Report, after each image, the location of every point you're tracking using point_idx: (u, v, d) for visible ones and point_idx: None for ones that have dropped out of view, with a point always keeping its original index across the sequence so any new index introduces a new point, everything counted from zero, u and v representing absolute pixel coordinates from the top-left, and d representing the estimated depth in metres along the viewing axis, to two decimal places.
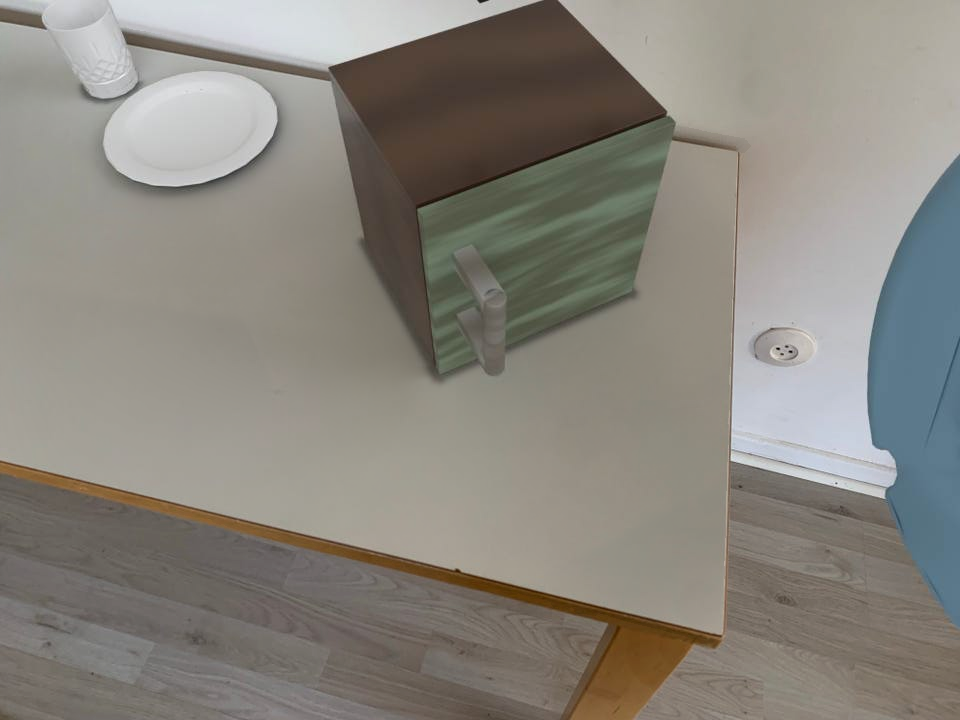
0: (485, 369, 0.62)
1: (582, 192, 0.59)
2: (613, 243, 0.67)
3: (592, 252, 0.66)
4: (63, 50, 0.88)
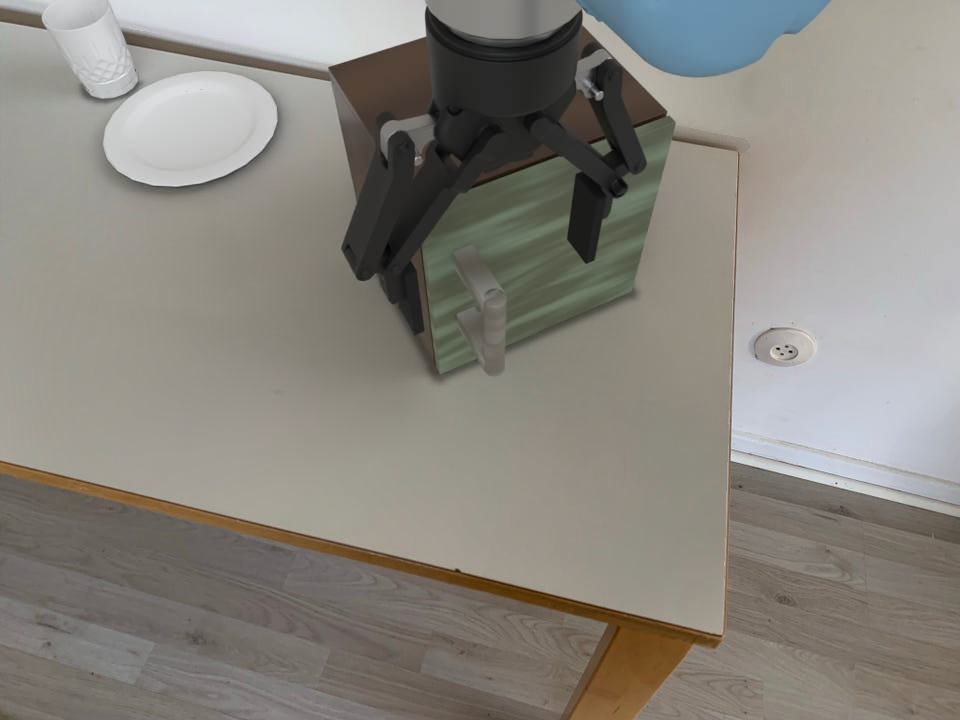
0: (485, 369, 0.62)
1: None
2: (613, 243, 0.67)
3: None
4: (63, 50, 0.88)
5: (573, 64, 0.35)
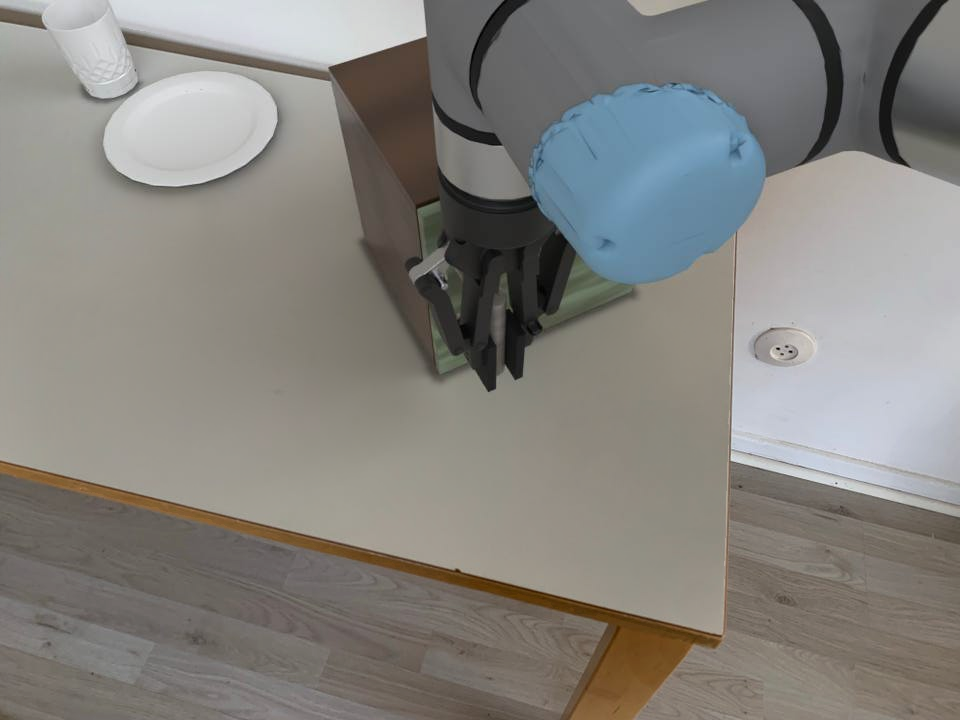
0: None
1: None
2: None
3: None
4: (63, 50, 0.88)
5: None
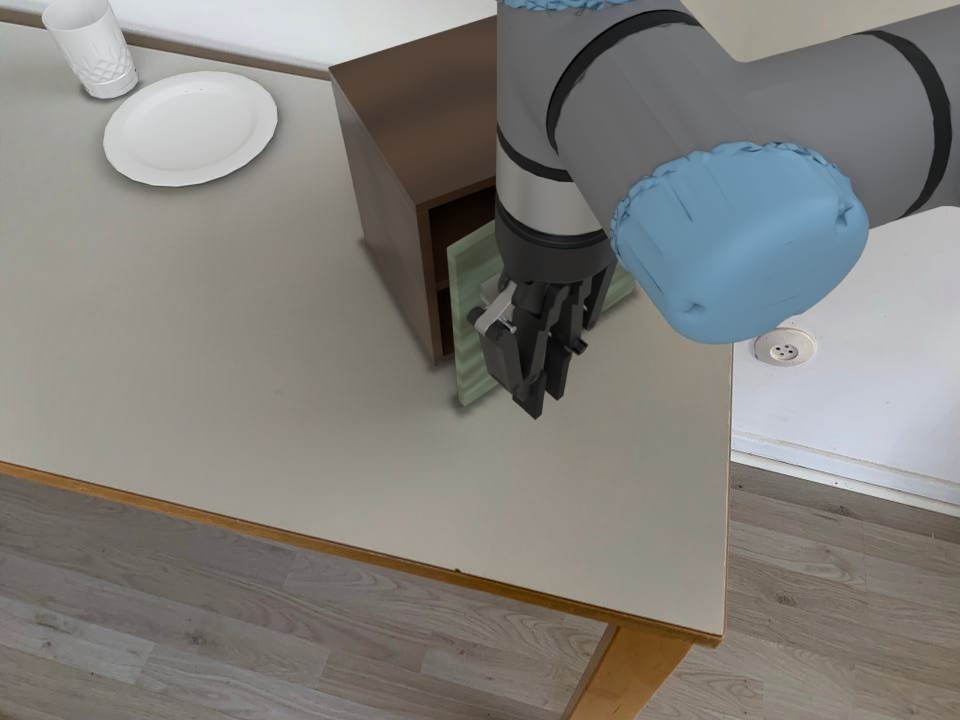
0: None
1: None
2: None
3: None
4: (63, 50, 0.88)
5: None
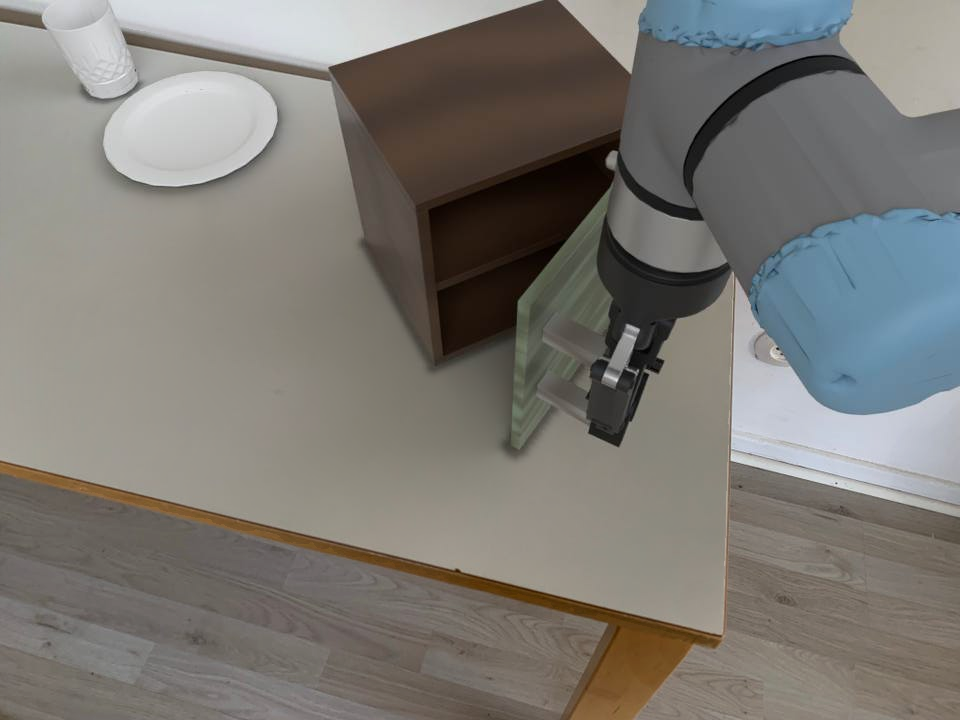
0: None
1: None
2: None
3: None
4: (63, 50, 0.88)
5: None
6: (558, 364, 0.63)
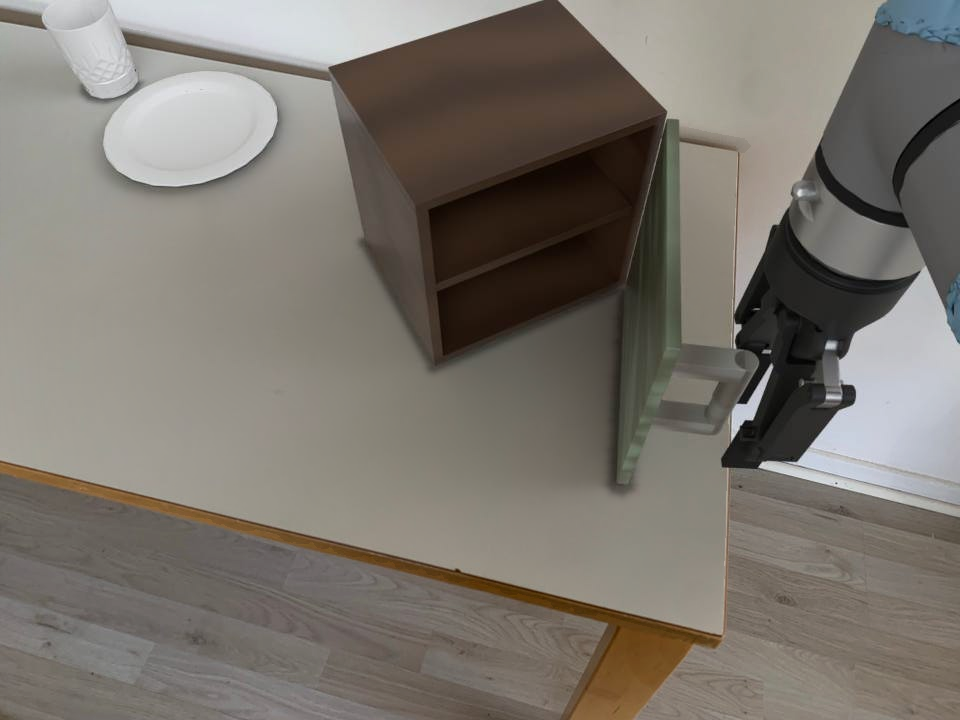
0: (713, 432, 0.59)
1: None
2: None
3: None
4: (63, 50, 0.88)
5: None
6: None
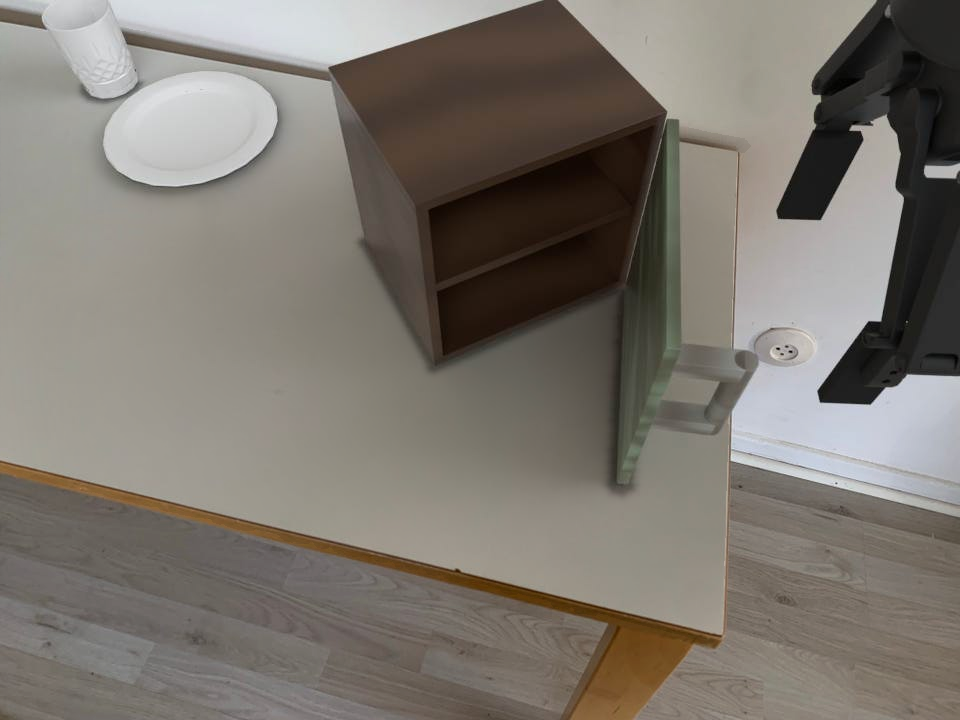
0: (713, 432, 0.59)
1: None
2: None
3: None
4: (63, 50, 0.88)
5: None
6: None
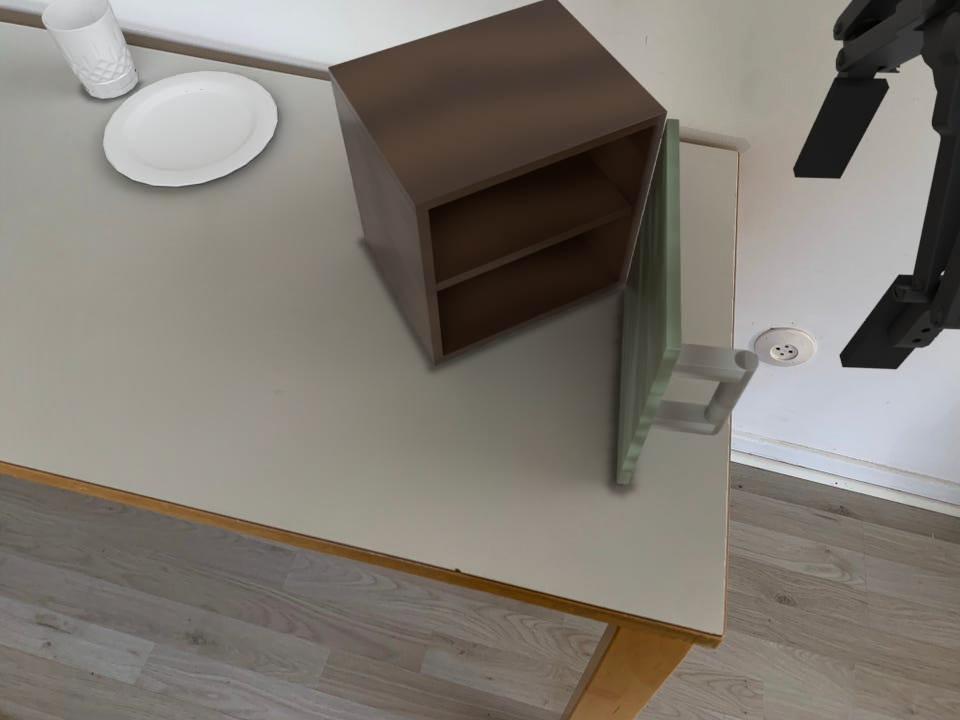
0: (713, 432, 0.59)
1: None
2: None
3: None
4: (63, 50, 0.88)
5: None
6: None
